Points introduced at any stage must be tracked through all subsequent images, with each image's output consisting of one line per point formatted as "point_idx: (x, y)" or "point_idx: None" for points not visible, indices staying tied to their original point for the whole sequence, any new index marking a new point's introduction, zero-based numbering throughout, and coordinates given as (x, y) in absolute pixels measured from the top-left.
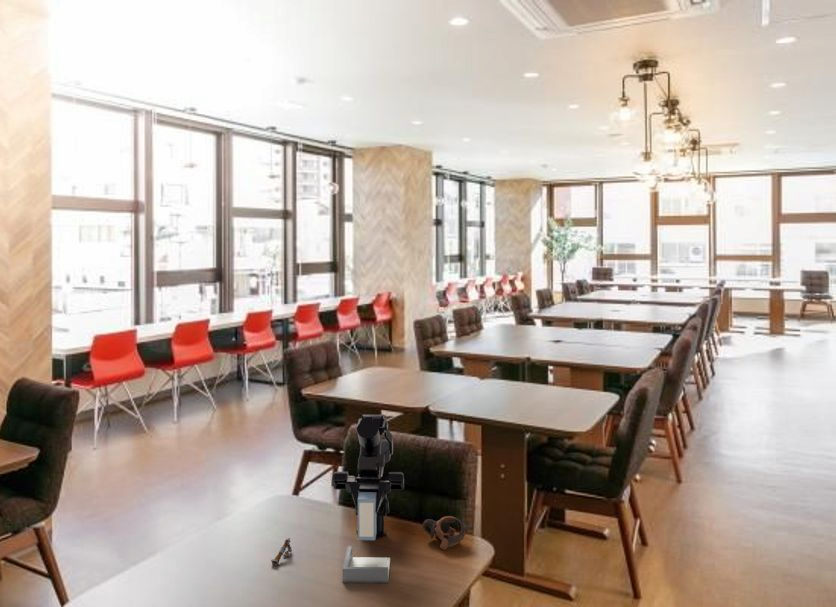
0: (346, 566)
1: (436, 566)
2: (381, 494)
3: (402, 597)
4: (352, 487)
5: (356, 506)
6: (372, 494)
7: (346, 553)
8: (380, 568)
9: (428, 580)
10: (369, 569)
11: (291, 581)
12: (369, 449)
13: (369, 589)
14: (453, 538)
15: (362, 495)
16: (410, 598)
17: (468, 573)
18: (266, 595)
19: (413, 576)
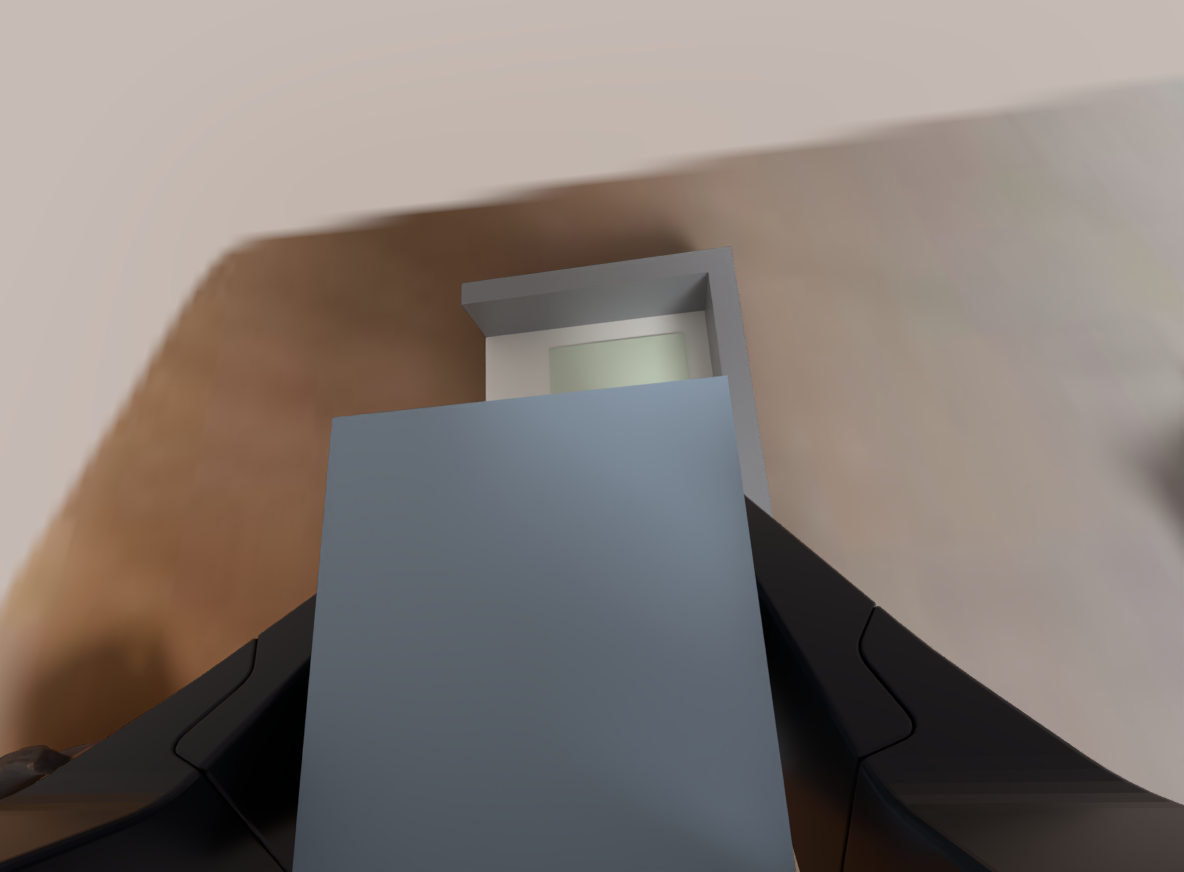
0: (713, 274)
1: (240, 522)
2: (181, 699)
3: (420, 222)
4: (1155, 830)
5: (751, 513)
6: (395, 689)
7: (758, 440)
8: (504, 283)
9: (297, 375)
10: (567, 269)
11: (1025, 263)
12: None
13: (573, 258)
14: (19, 750)
15: (647, 598)
16: (387, 221)
17: (105, 465)
18: (1095, 123)
19: (365, 403)
